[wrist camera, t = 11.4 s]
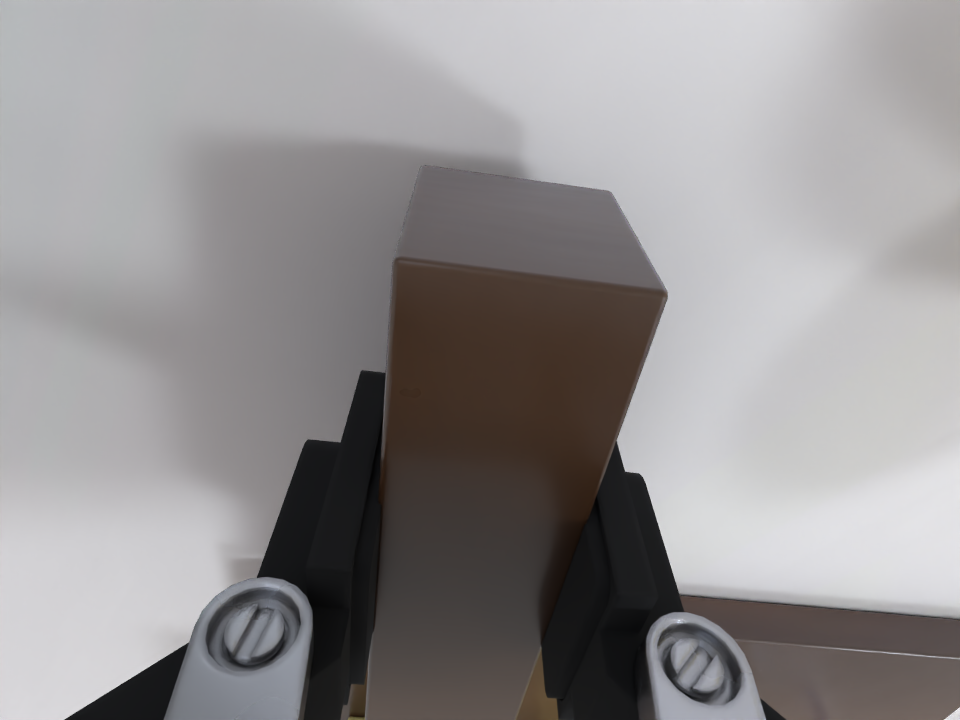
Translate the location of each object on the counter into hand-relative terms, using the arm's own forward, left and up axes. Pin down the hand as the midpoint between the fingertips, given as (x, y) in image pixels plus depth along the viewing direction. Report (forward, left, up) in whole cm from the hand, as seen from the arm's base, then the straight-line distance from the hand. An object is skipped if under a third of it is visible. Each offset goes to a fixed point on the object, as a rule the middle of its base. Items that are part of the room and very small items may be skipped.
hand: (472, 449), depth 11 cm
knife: (+6, 0, 0) cm, 6 cm away
